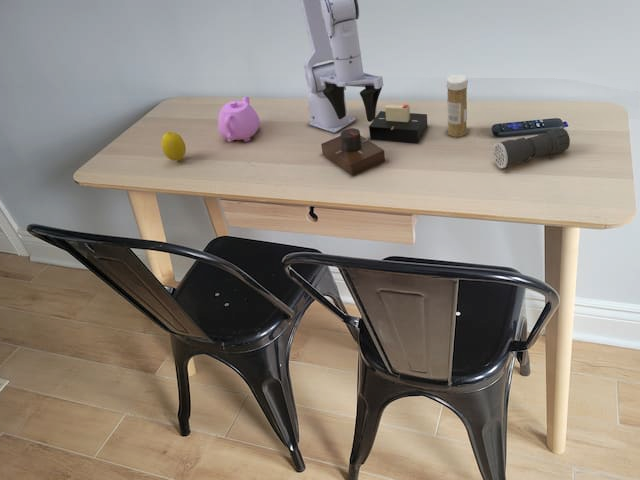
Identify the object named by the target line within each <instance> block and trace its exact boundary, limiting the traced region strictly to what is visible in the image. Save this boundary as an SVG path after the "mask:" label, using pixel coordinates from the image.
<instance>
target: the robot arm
mask: <svg viewBox="0 0 640 480" xmlns="http://www.w3.org/2000/svg"><path fill="white" fill-rule="evenodd" d="M299 3H300V7H301V10H302V15H303V19H304V23H305V29H306V33H307V35H308V36H307V37H308V41H309V44H310V48H311V53H310V54H309V55H308V57H307V58H306V59H305V61H304V63H303V68H304V75H305V81H306V85H307V88H308V91H309V92H308V95H307V105H308V110H309V111H308V112H309V116H310V121H309V123H308V124H309V126H312V127H314V128H319V129H321V130H324V131H328V132H331V133H332V134H333V133H334V134H336V133H338V132H339V131H341V130H342V129H344V128H345V127H347V126H349V125H350V124H353V122H355V121H356V118H355V117H353V116H349V115H348V109H347V102H346V93H345V91H346V90H347V87H356V88H357V87H358V88H363V89H362V90H360V91H359V95H360V98H361V100H362V102H363V105H364V110H365V116H366V120H367V122H368V123H372V122H373V120H374V119H375V118H376V113H377V105H378V100H379V97H380V94H381V92H382V89H383V86H384V79H383V76H381V75H375V74H371V73H365V72H364V67H363V60H362V59H363V58H362V52H361V46H360V38H359V30H358V24H357V20H359V17H360V7H359V0H299ZM329 61H330V62H329ZM323 62H327V63H323ZM321 63H323V64H321ZM317 64H318V65H317Z"/></svg>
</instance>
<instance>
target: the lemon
mask: <svg viewBox="0 0 640 480" xmlns="http://www.w3.org/2000/svg"><path fill="white" fill-rule="evenodd" d="M160 145H161V149H162V152H163V155H165V156H166V158H167V159H169V160H171V161H176V162H180V161H181V160H182V159H183V158H184V157H185V155H186V151H187V147H186V142H185V141H184V139H183V138H182V136H181V135H180V134H178V132H174V131H167V132H166V133H164V134H163V136H162V138H161V142H160Z"/></svg>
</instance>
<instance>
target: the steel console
mask: <svg viewBox="0 0 640 480" xmlns="http://www.w3.org/2000/svg"><path fill="white" fill-rule="evenodd" d="M428 126H429V125H428V114H427V113H416V112H415V113H414V112H410V120H409V122H396V121H386V112H385V110H380V111H379V112H378V114H377V115H375V119H374V120H373V121H371V122H370V124H369V125H368V130H369V139H370V140H372V141H382V142H383V141H384V142H395V143H407V144H416V145H417V144H419V143H420V141H421V140H422V138H423V136H424V134H425V133H426V131H427V130H428ZM370 140H369V141H370Z"/></svg>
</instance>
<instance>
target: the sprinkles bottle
mask: <svg viewBox="0 0 640 480" xmlns="http://www.w3.org/2000/svg"><path fill="white" fill-rule="evenodd" d="M468 81H469V80H468V77H467V76H466V75H464V74H453V75H450V76H448V77H447V78H446V88H447V134H448V135H449V136H450V137H453V138H454V137H455V138H456V137H458V138H459V137H463V136H464V135H466V134H467V132H468V129H467V127H468V126H467V124H468V123H467V122H468V121H467V119H468V101H467V97H468V96H467V94H468V93H467V89H468V85H469V84H468Z"/></svg>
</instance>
